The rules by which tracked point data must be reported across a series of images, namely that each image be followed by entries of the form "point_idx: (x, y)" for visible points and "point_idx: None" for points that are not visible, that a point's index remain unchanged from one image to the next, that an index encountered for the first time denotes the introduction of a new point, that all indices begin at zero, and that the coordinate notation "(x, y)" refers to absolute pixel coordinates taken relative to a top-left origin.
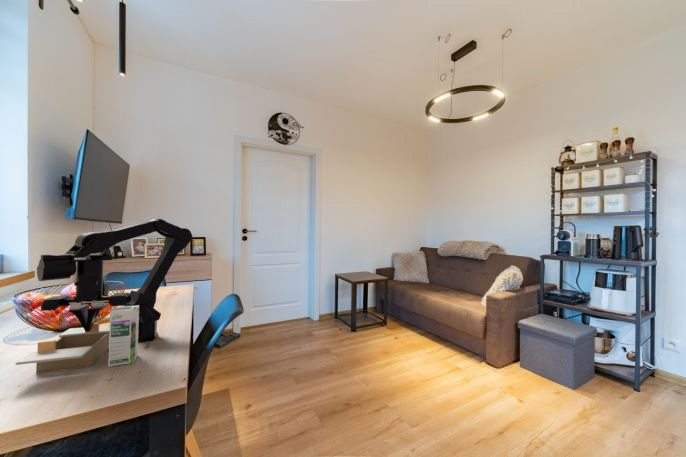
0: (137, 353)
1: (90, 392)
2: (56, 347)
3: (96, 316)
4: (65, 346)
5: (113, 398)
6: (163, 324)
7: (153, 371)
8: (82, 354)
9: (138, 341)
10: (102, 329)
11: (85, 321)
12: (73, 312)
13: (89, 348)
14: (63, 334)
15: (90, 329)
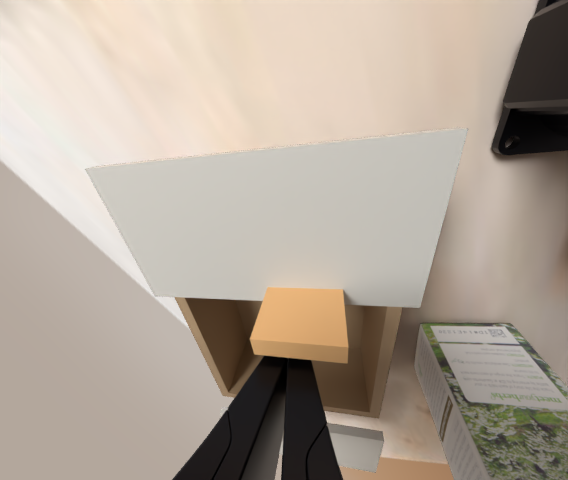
0: (517, 333)
1: (400, 431)
2: (211, 308)
3: (335, 460)
4: None
5: (444, 454)
6: None
7: None
8: (375, 469)
9: (553, 150)
10: (355, 263)
11: (278, 447)
12: None
13: (380, 450)
14: (166, 290)
15: None
